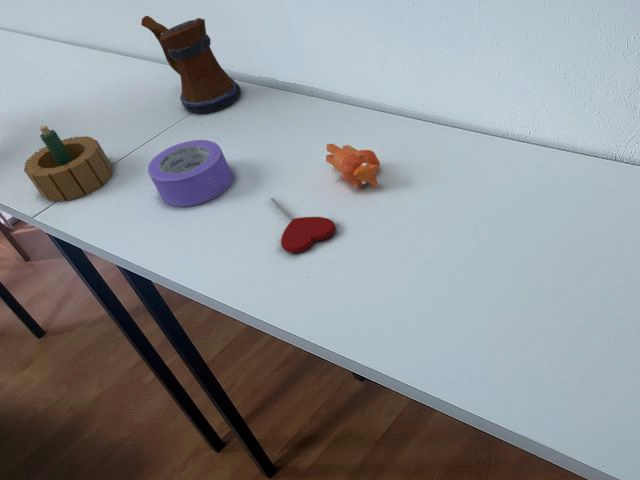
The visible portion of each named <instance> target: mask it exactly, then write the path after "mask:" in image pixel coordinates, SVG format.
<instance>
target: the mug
mask: <svg viewBox="0 0 640 480" xmlns="http://www.w3.org/2000/svg"><path fill="white" fill-rule="evenodd" d="M140 25H141V26H142V27H143V28H146V29H148V30H149V31H150V32H151V33H152V34H153V36H154V37H155V38H156V40H157V41H158V44H159V46H160V47H161V49H162V52H163V54H164V57H165V59H166V62H167V63H168V64H169V67H170V68H172V69H173V71H174V72H176V73H177V74H178V76H180V83H181V93H180V98H179V100H180V102H181V104H182V106H183V107H184V108H185V109H187V110H188V111H189V112H192V113H196V114H201V115H203V114H204V115H205V114H208V113H214V112H217V111H220V110H222V109H225V108H228V107H230V106H231V105H232V104H233V103H234V102H236V101H237V100H238V99H239V96H240V94H241V87H240V85H239V84H238V83H237V81H235V80H234V78H232V77H230V76H229V75H228V73H227V72H226V71H225V70H224V68H222V66H221V65H220V63H219V62H218V60H217V58H216V56H215V55H214V53H213V51H212V48H211V45H212V44H211V37H210V36H209V35H208V34H207V28H206V19H204V18H201V17H197V18H196V19H192V20H187V21H185V22H181V23H179V24H177V25H175V26H172V27H170V28H168V27H166V26H165V25H163V24H161V23H159V22H158V21H156V20H155V19H154V18H152V17H151V16H149V15H144V16H143V17H142V18H141V24H140Z"/></svg>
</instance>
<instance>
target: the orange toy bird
mask: <svg viewBox="0 0 640 480" xmlns="http://www.w3.org/2000/svg"><path fill="white" fill-rule="evenodd" d="M326 151H327V152H329V153H330V154H326V156H325V161H326V162H327V163H328V164H330V165H332V167H333V169H334V170H336V171H337V172H339V173H340V174H341V179H343V180H345V181H346V182H347V183H349V184H351V185H353V186H354V187H356V188H361V187H364V185H366V184H367V183H370V184H371V185H372V186H373V187H376V186H378V185H379V182H378V179H377V177H376V176H377V175H376V173H377V170H378V169H379V167H380V165H381V164H380V163H381V162H380V160H379V158H378V157H377V155H376V153H375V152H374V151H373V150H371V149H361V150H359V149H356V148H354V147H353V146H351V145H350V144H347V145H346V144H345V145H342V148H341V147H339V146H338V145H336V144H334V143H327V144H326Z"/></svg>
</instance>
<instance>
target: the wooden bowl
mask: <svg viewBox="0 0 640 480" xmlns="http://www.w3.org/2000/svg"><path fill="white" fill-rule="evenodd" d="M60 140H61V141H62V143H63V144H64V146H65V147H66V149H67V150H68V152H69V153H70V155H71V156H72V158H73V159H74V160H73V161H71V162H70V163H68V164H66V165H62V166H60V165H59V164H58V163H57V161H56V160H55V158H54V157H53V155H52V154H51V152H50V151H49V149H48V148H47V146H46V145H45V146H43V147H42V148H40V149H38V151H36V152H34V153H33V154H32V155H31V156H30V157H28V159H27V160H26V161H25V163H24V168H23V171H24V173H25V174H26V176H27V177H28V178H29V180H30V181H31V183H32V184H33V185H34V186H35V188H36V189H37V190H38V192H39V193H40V195H41V196H42V197H43V198H45V199H46V200H47V201H51V202H67V201H72V200H75V199H77V198H78V199H79V198H81V197H84V196H85V195H89V194H91V193H93V192H94V191H96V190H98V189H100V188H102V186H104V185H105V184H106V183H107V182H108V181H109V180H110V178H111V177H112V176H113V175H114V166H113V165H112V162H111V161H110V159H109V157H108V156H107V154H106V152H105V151H104V149H103V148H102V146H101V144H100V143H99V142H98V140H97V139H95V138H93V137H91V136H73V137H71V136H70V137H68V138H65V139H60Z"/></svg>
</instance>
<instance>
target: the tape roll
mask: <svg viewBox="0 0 640 480" xmlns="http://www.w3.org/2000/svg"><path fill="white" fill-rule="evenodd" d="M147 174H148V175H149V178H150V179H151V181H152V183H153V184H154V186H155V188H156V191H157V192H158V193H159V195H160V197H161V199H162V200H163V201H164V203H165V204H167V205H170V206H173V207H178V208H179V207H181V208H182V207H183V208H184V207H193V206H198V205H201V204H205V203H207V202H209V201H211V200H213V199H215V198H217V197H219V196H220V195H221V194H224V192H225V191H226V190H227V189H228V188H229V187H230V185H231V184H232V182H233V172H232V170H231V168H230V166H229V164H228V161H227V160H226V157H225V155H224V153H223V151H222V149H221V146H220V145H219V144H218V143H217V142H215V141H213V140H208V139H194V140H186V141H184V142H179V143H176V144H174V145H172V146H170V147H168V148H165V149H164V150H162V151H160V152H159V153H158V154H156V155H155V156H154V157H153V158H152V159H151V160H150V162H149V163H148V166H147Z"/></svg>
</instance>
